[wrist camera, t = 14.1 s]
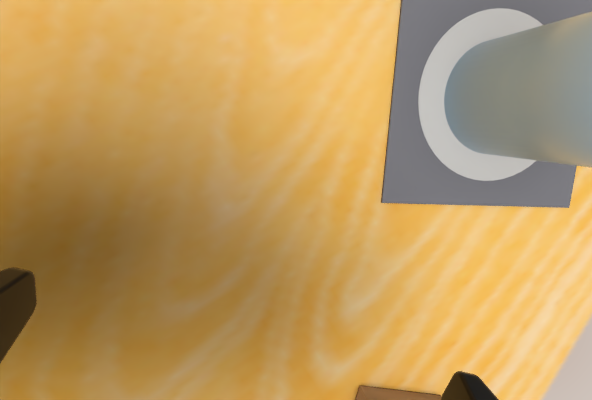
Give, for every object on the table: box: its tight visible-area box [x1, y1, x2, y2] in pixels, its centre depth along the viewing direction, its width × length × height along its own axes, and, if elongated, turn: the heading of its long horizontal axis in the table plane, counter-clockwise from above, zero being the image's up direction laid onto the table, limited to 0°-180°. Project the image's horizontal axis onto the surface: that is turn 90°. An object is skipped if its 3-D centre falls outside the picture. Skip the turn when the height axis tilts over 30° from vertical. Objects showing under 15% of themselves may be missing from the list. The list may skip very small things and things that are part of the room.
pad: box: [382, 0, 592, 208], centre depth 21 cm, size 11×11×1 cm
